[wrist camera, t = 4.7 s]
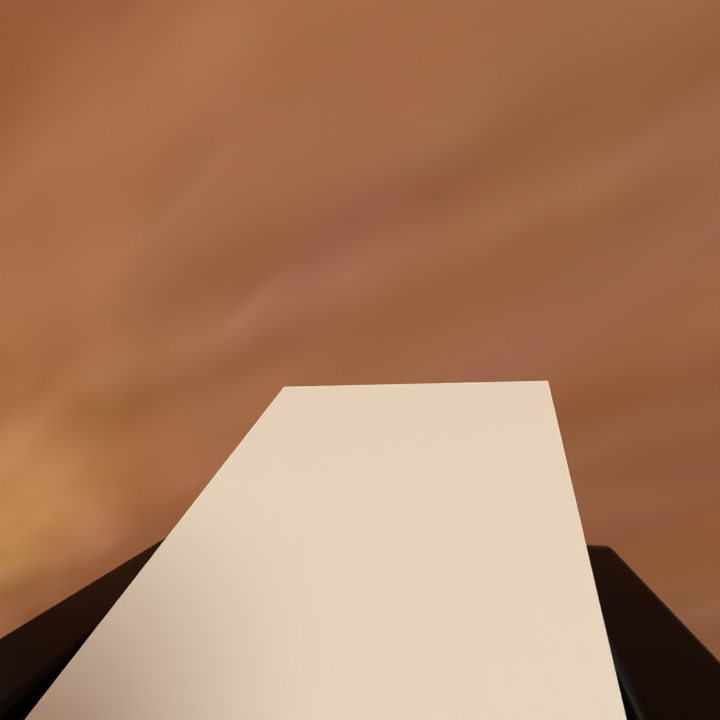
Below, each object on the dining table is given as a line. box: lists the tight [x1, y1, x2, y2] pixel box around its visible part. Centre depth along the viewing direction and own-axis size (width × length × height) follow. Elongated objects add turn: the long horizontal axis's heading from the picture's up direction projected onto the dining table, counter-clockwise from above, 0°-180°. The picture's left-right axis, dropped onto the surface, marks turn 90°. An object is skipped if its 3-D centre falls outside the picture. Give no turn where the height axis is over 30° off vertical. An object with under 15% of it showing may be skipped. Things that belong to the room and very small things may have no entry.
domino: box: [25, 381, 627, 720], centre depth 7 cm, size 2×5×8 cm, turn 96°
